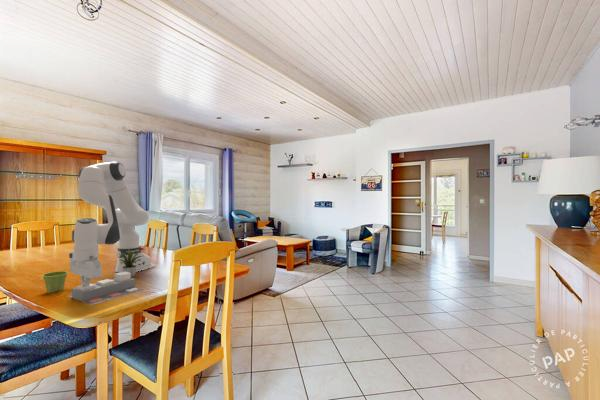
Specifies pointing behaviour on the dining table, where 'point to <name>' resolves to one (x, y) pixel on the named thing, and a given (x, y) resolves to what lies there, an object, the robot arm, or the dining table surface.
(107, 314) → the dining table surface
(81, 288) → the key
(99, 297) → the switch panel
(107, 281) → the key middle
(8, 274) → the dining table surface
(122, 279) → the key
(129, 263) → the house plant
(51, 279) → the plant pot
